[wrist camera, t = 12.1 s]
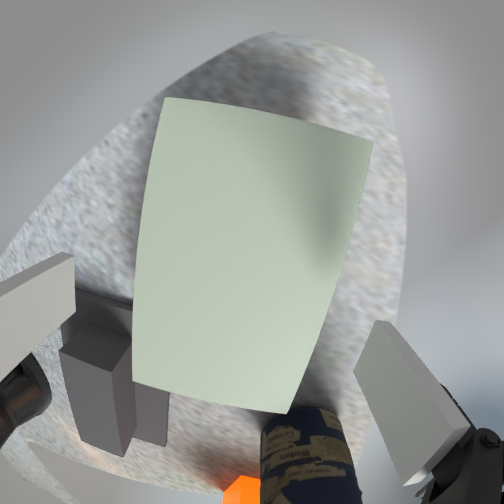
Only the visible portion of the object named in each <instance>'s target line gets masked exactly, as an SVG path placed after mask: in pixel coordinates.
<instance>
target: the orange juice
mask: <svg viewBox="0 0 504 504" xmlns="http://www.w3.org/2000/svg"><path fill="white" fill-rule="evenodd" d="M223 504H260V479H256V478H251V477H246V476H242V475H241V476H240V477H239V478H238V479H237V480H236V481H235V482H234V483H233V484H232V485H231V486H230V487H229V488H228V489H227V490H226V491H224V494H223Z"/></svg>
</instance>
